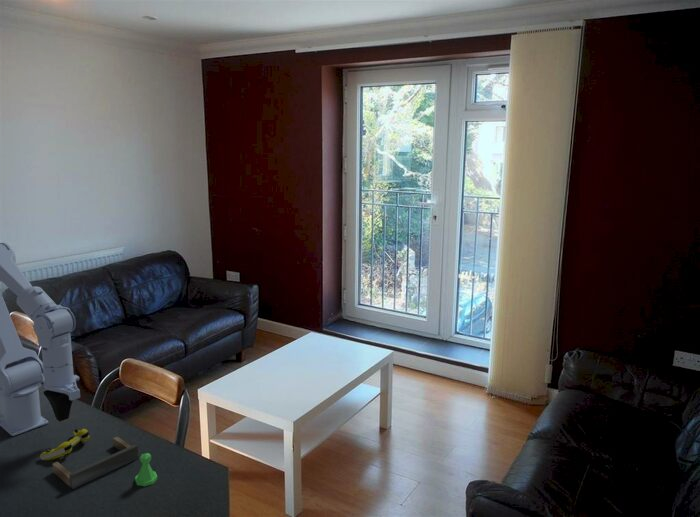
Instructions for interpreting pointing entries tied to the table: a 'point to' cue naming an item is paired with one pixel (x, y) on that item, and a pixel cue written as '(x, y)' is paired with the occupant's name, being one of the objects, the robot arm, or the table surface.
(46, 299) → the robot arm
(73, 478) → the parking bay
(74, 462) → the table surface
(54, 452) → the yellow plastic handheld tool
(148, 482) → the game piece
